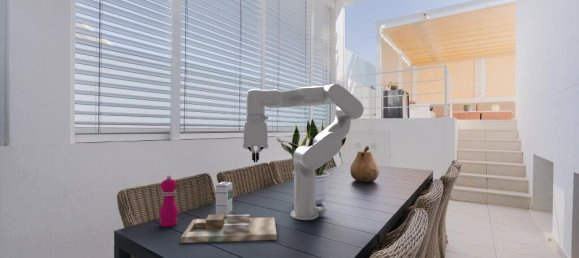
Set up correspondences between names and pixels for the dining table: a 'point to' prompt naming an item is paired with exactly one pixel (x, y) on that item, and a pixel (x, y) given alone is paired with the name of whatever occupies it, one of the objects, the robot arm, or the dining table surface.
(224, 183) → the syrup box
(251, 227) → the trap board
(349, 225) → the dining table surface
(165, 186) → the pepper mill
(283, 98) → the robot arm
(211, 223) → the walnut block
